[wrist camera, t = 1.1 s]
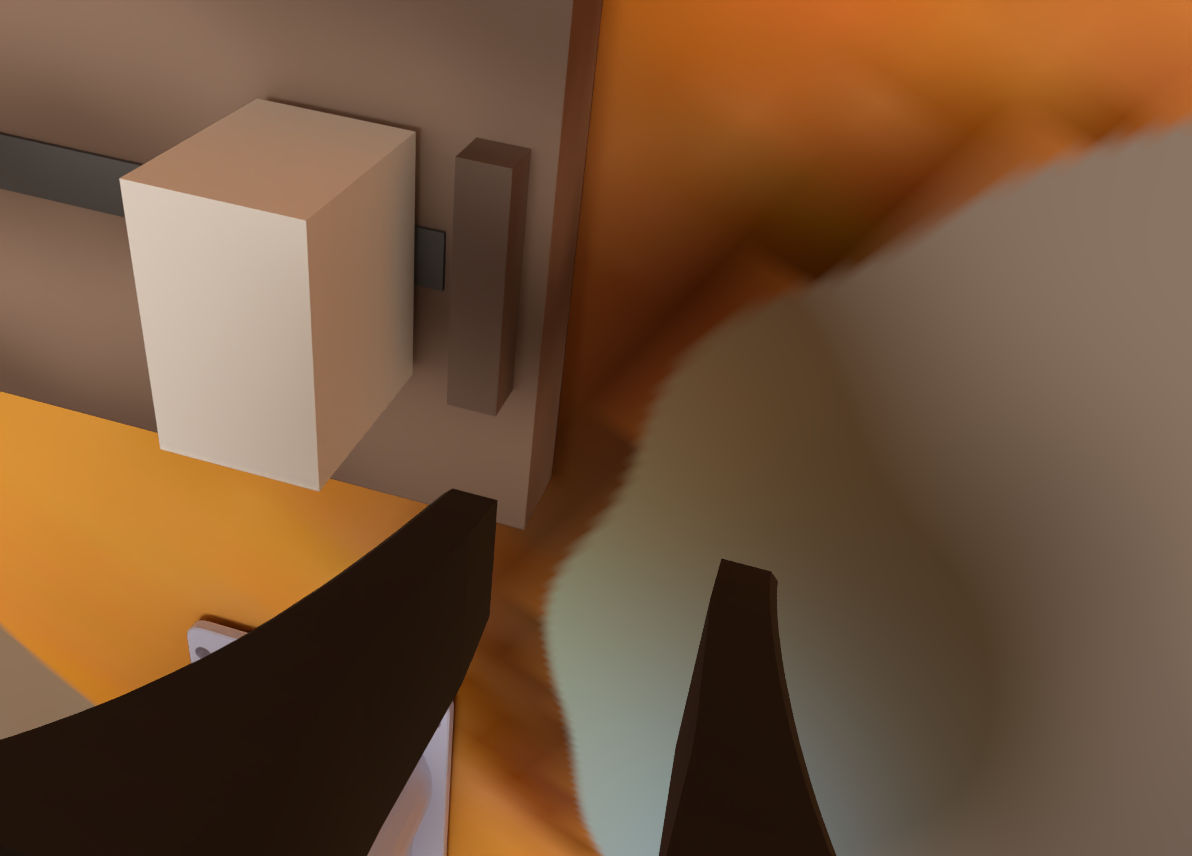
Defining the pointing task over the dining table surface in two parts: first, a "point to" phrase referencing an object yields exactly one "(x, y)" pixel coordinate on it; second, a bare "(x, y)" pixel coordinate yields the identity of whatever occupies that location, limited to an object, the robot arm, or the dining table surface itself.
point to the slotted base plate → (336, 86)
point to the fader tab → (275, 286)
